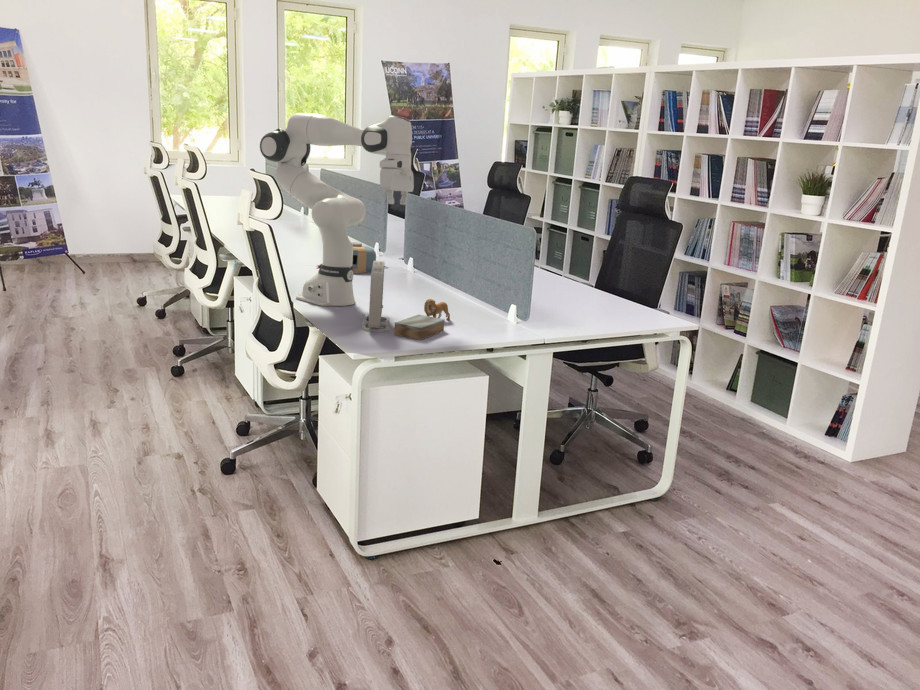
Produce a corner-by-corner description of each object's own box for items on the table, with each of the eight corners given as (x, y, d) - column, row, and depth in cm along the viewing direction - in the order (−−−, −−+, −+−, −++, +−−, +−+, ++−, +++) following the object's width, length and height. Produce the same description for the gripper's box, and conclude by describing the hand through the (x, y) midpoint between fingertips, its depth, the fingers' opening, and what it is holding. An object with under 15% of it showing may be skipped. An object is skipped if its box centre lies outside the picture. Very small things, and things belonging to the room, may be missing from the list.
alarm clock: (326, 269, 364) (327, 243, 361) (344, 263, 382) (345, 238, 379) (364, 274, 359) (366, 248, 356) (381, 268, 377) (383, 243, 374)
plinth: (393, 334, 261) (394, 322, 260) (418, 325, 275) (418, 314, 274) (420, 340, 257) (421, 328, 256) (443, 330, 271) (444, 319, 270)
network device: (364, 315, 284) (367, 259, 279) (389, 316, 285) (392, 261, 279) (361, 333, 259) (364, 272, 254) (388, 334, 260) (391, 274, 255)
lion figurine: (432, 326, 276) (434, 301, 273) (419, 323, 278) (421, 298, 276) (453, 319, 288) (454, 295, 286) (440, 316, 291) (442, 292, 288)
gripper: (402, 165, 288) (401, 204, 290) (377, 161, 269) (375, 203, 271) (418, 166, 286) (417, 205, 288) (393, 162, 267) (392, 204, 269)
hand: (397, 204), depth 280 cm, fingers open, 8 cm apart
